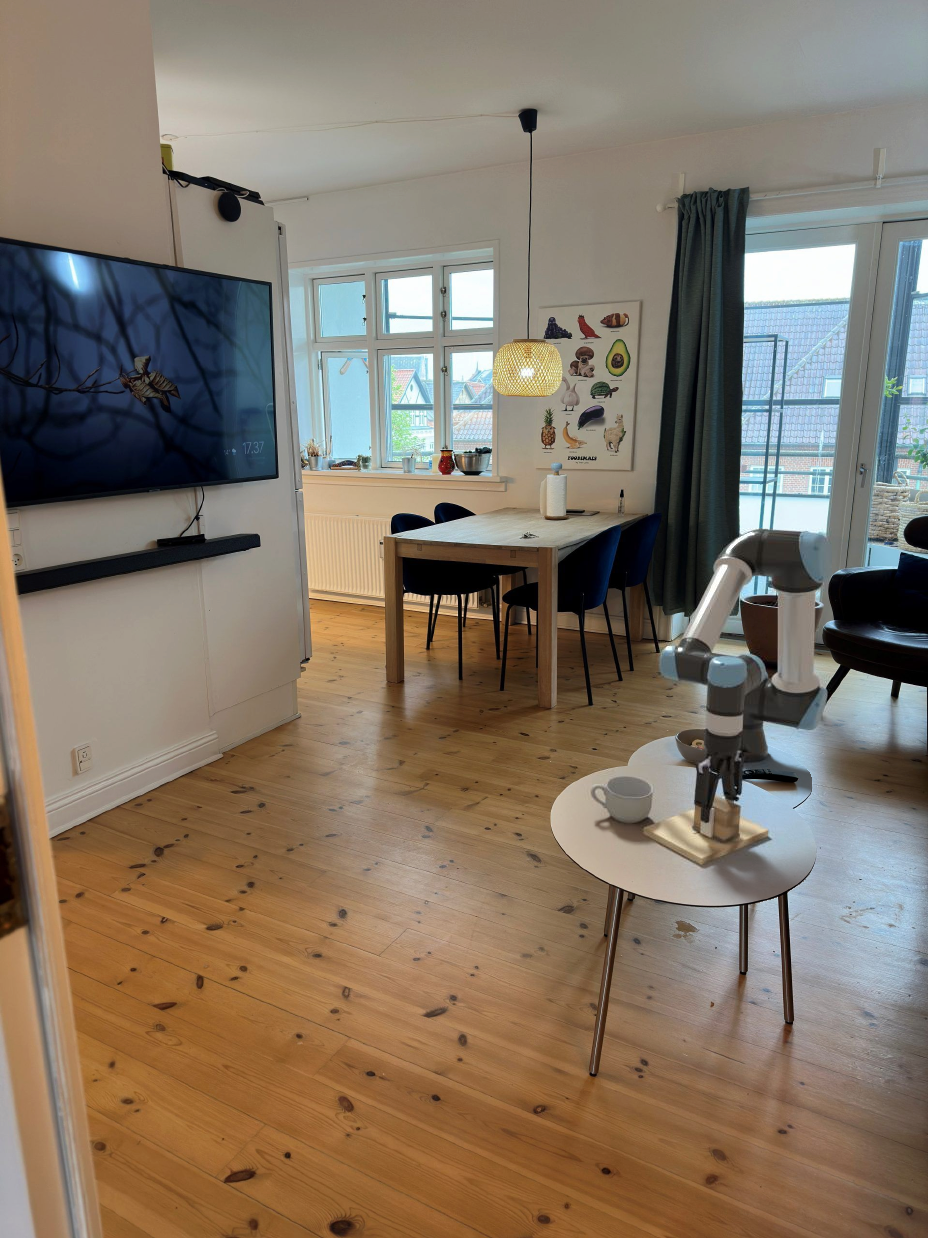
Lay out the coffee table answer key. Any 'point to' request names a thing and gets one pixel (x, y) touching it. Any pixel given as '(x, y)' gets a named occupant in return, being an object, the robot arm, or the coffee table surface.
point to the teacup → (626, 798)
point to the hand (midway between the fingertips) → (715, 830)
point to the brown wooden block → (722, 819)
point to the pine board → (701, 837)
